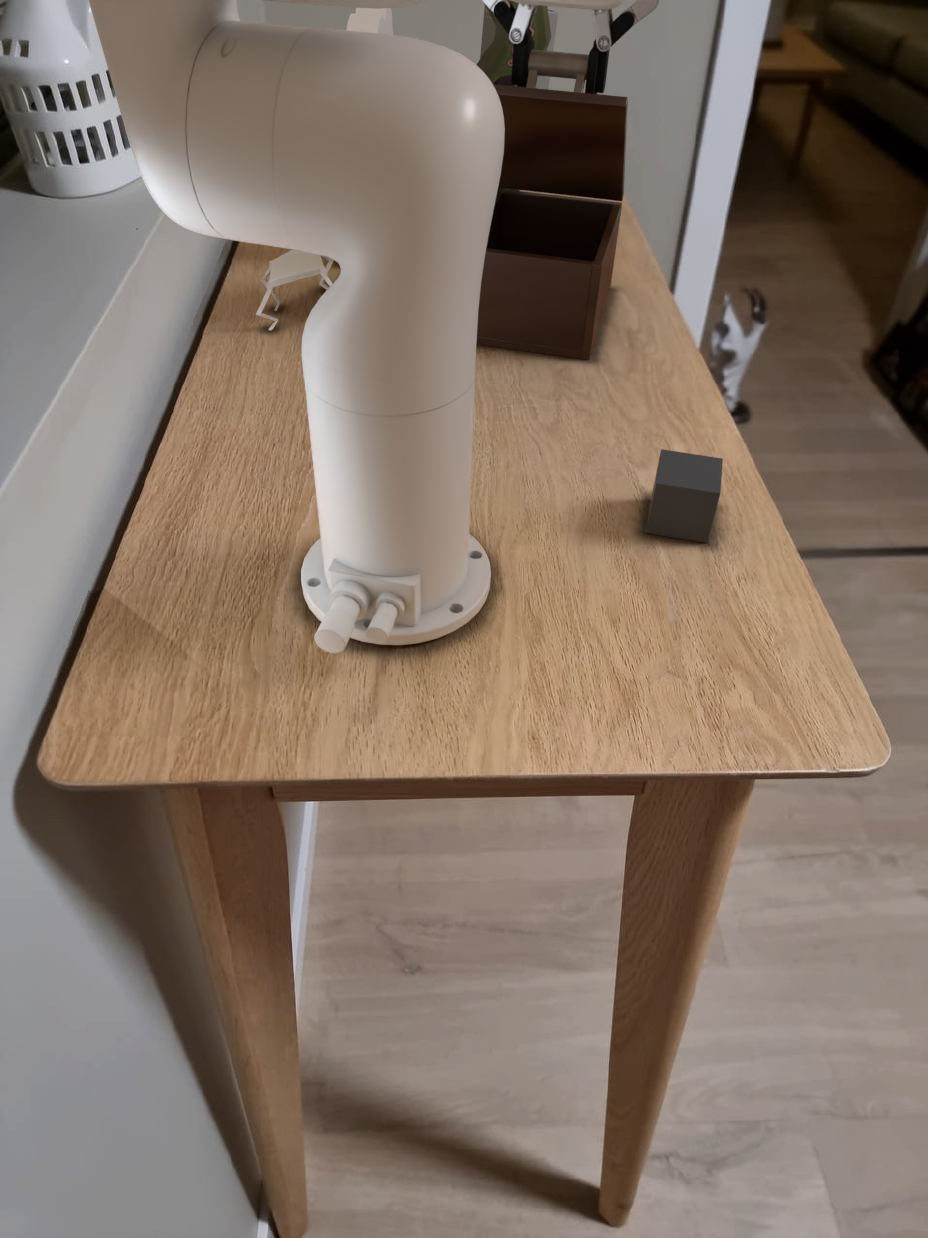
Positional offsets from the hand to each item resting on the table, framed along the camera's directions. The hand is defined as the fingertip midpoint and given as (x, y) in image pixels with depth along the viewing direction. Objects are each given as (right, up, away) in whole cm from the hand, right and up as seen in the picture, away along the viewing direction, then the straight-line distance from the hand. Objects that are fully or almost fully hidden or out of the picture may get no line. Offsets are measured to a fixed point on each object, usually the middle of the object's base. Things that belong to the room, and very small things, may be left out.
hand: (557, 95), depth 78 cm
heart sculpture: (-19, +12, +40) cm, 46 cm away
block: (+8, -37, -11) cm, 40 cm away
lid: (0, -3, +4) cm, 5 cm away
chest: (-1, -14, +13) cm, 19 cm away
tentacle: (-5, +1, +29) cm, 30 cm away
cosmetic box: (-1, +25, +55) cm, 60 cm away
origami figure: (-23, -14, +13) cm, 30 cm away
